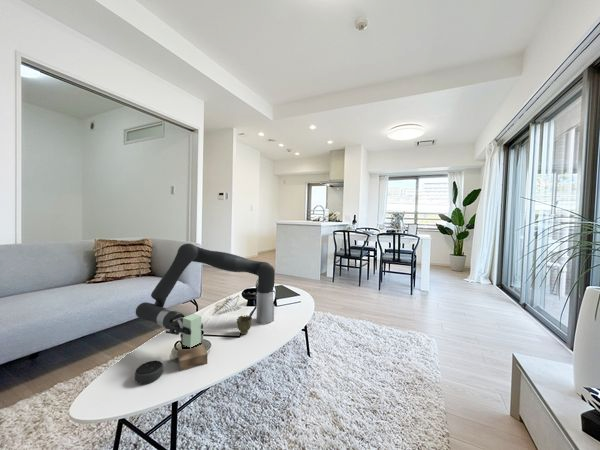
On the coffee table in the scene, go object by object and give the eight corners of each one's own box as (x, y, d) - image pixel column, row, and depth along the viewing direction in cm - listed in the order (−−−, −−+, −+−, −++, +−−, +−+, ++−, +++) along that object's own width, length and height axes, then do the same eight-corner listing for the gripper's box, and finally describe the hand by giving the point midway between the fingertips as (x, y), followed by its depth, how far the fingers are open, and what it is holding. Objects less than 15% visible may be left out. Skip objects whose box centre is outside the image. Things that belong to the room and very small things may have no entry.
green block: (193, 338, 103) (193, 313, 103) (201, 342, 101) (201, 316, 100) (182, 344, 99) (182, 317, 98) (190, 347, 96) (190, 320, 96)
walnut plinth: (202, 351, 107) (203, 342, 107) (207, 363, 98) (207, 353, 98) (177, 357, 102) (177, 348, 102) (179, 371, 93) (180, 361, 93)
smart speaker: (143, 389, 84) (143, 377, 83) (129, 379, 88) (129, 369, 88) (168, 374, 91) (168, 364, 91) (154, 366, 96) (154, 356, 96)
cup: (247, 337, 119) (248, 322, 119) (234, 336, 121) (234, 320, 121) (253, 330, 127) (254, 315, 126) (240, 329, 128) (240, 314, 128)
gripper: (154, 316, 100) (180, 327, 92) (185, 305, 112) (210, 314, 104) (153, 334, 100) (180, 346, 92) (185, 321, 113) (210, 331, 105)
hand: (196, 329), depth 98 cm, fingers closed on green block, 5 cm apart
